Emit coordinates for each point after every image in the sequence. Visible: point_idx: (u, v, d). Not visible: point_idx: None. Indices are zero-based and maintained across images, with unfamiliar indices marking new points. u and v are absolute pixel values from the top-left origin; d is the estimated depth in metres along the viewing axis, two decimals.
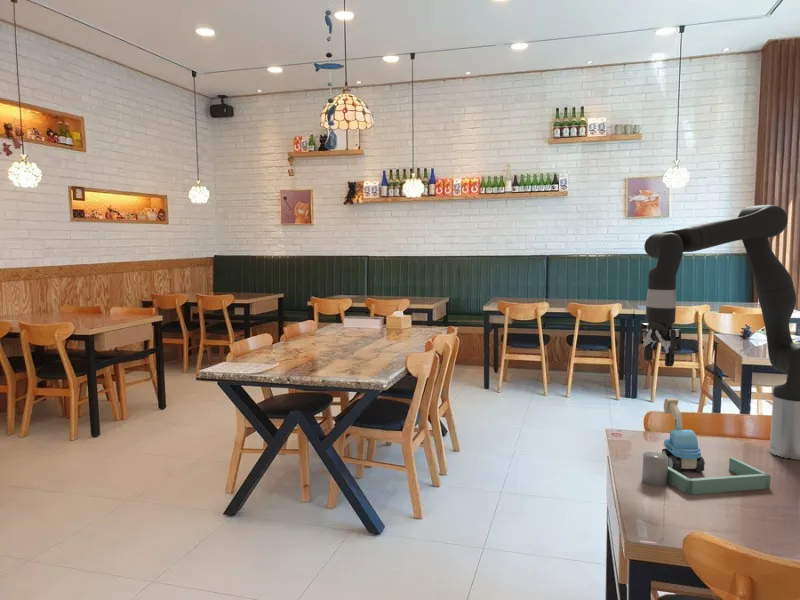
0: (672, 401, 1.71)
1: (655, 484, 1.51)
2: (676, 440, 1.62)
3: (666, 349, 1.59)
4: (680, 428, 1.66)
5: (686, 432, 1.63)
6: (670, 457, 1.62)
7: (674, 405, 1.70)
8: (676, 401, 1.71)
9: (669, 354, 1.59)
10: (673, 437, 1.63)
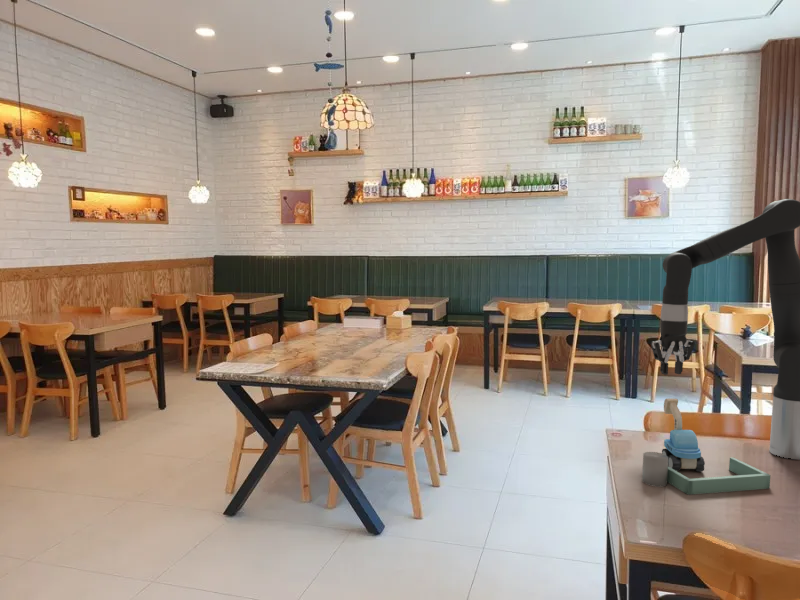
0: (672, 401, 1.71)
1: (655, 484, 1.51)
2: (676, 440, 1.62)
3: (682, 359, 1.80)
4: (680, 428, 1.66)
5: (686, 432, 1.63)
6: (670, 457, 1.62)
7: (674, 405, 1.70)
8: (676, 401, 1.71)
9: (682, 363, 1.81)
10: (673, 437, 1.63)
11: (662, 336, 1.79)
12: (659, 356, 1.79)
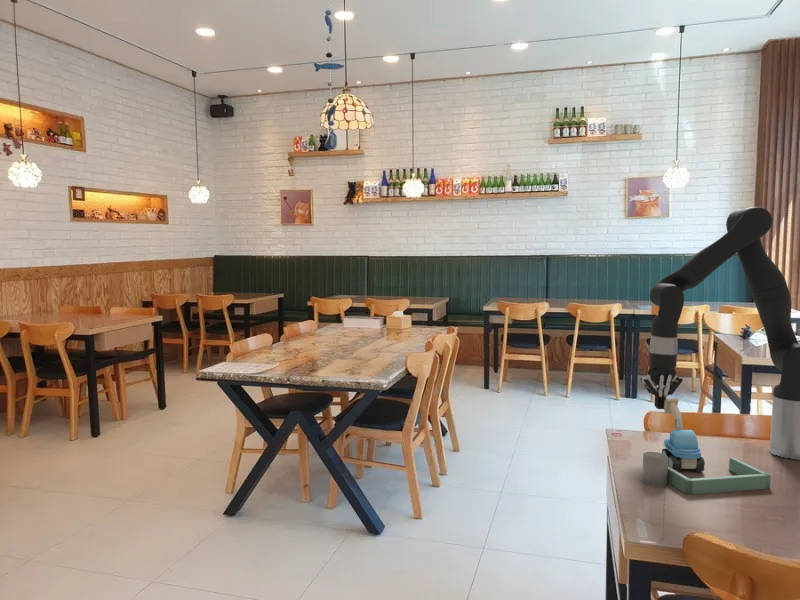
0: (672, 401, 1.71)
1: (655, 484, 1.51)
2: (676, 440, 1.62)
3: (665, 393, 1.74)
4: (680, 428, 1.66)
5: (686, 432, 1.63)
6: (670, 457, 1.62)
7: (674, 405, 1.70)
8: (676, 401, 1.71)
9: (665, 397, 1.75)
10: (673, 437, 1.63)
11: (651, 369, 1.73)
12: (652, 391, 1.73)
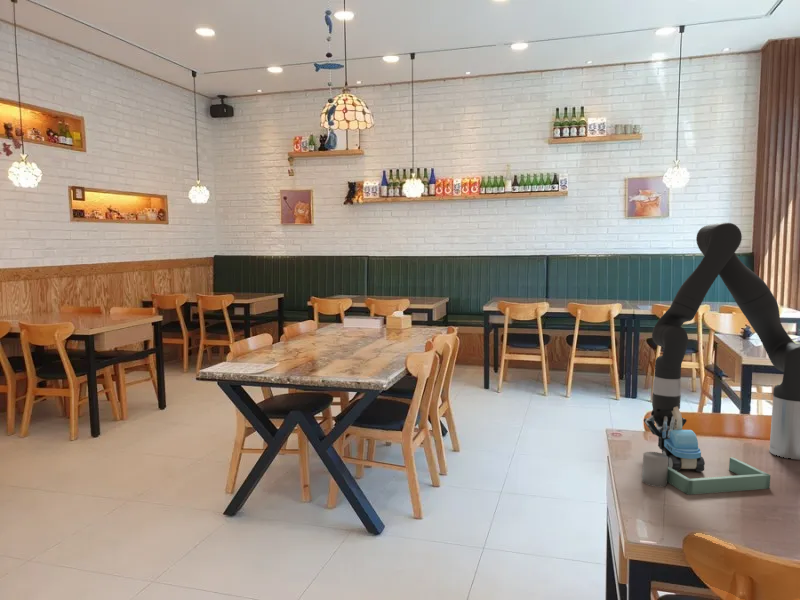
0: None
1: (655, 484, 1.51)
2: (676, 440, 1.62)
3: (669, 434, 1.72)
4: (680, 428, 1.66)
5: (686, 432, 1.63)
6: (670, 457, 1.62)
7: None
8: None
9: (669, 438, 1.73)
10: (673, 437, 1.63)
11: (654, 410, 1.72)
12: (656, 432, 1.72)
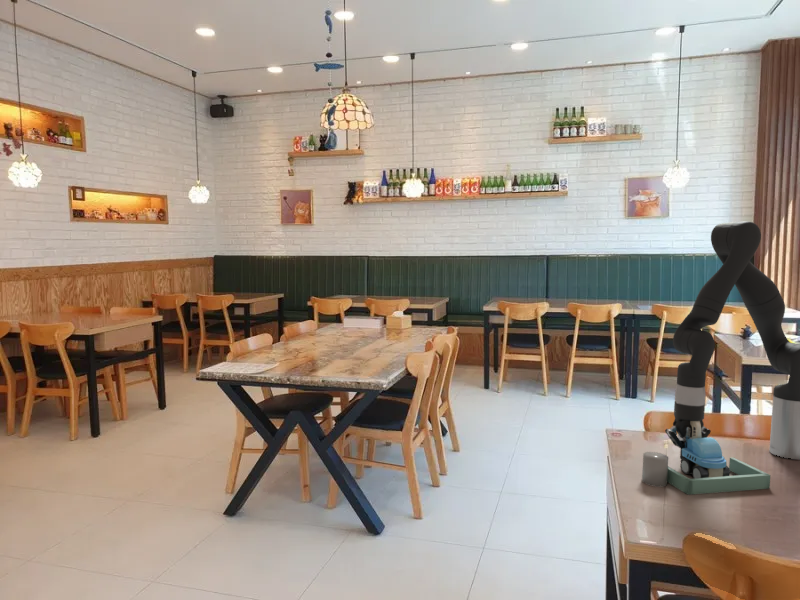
0: None
1: (655, 484, 1.51)
2: (702, 450, 1.54)
3: None
4: (700, 436, 1.59)
5: (709, 440, 1.56)
6: (696, 468, 1.54)
7: None
8: None
9: None
10: (697, 446, 1.55)
11: (676, 420, 1.62)
12: (678, 444, 1.62)
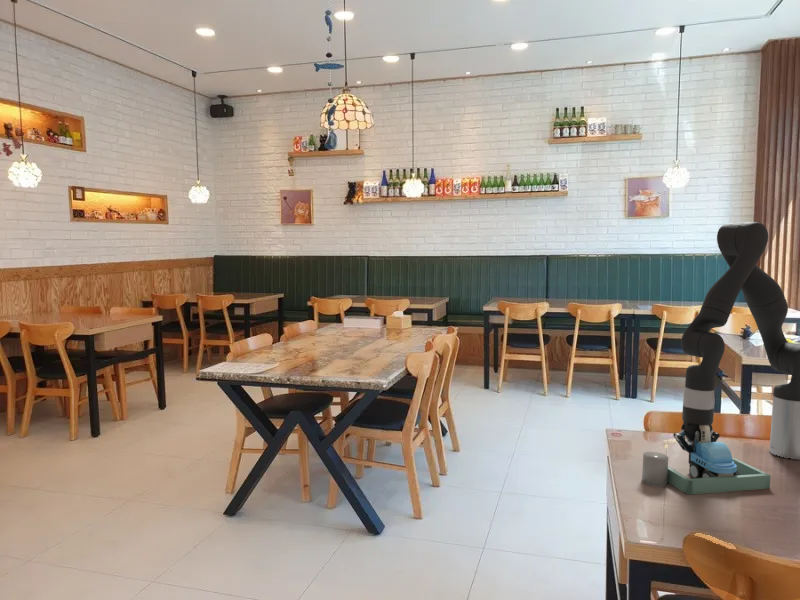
0: None
1: (655, 484, 1.51)
2: (711, 455, 1.51)
3: None
4: (709, 440, 1.56)
5: (718, 445, 1.53)
6: (706, 473, 1.51)
7: None
8: None
9: None
10: (706, 451, 1.52)
11: (685, 424, 1.58)
12: (687, 448, 1.58)
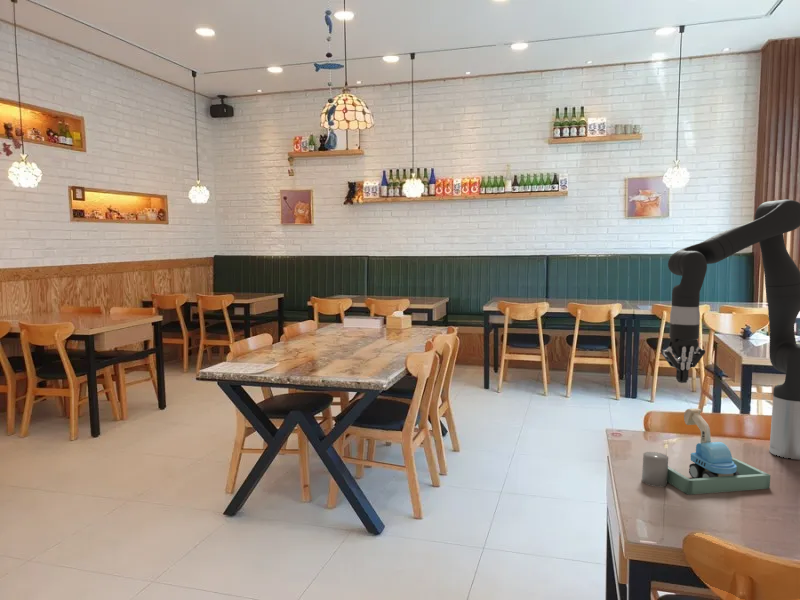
0: (695, 411, 1.60)
1: (655, 484, 1.51)
2: (711, 455, 1.51)
3: (688, 366, 1.66)
4: (709, 440, 1.56)
5: (718, 445, 1.53)
6: (706, 473, 1.51)
7: (699, 416, 1.59)
8: (699, 411, 1.60)
9: (687, 370, 1.67)
10: (706, 451, 1.52)
11: (672, 341, 1.66)
12: (674, 364, 1.65)
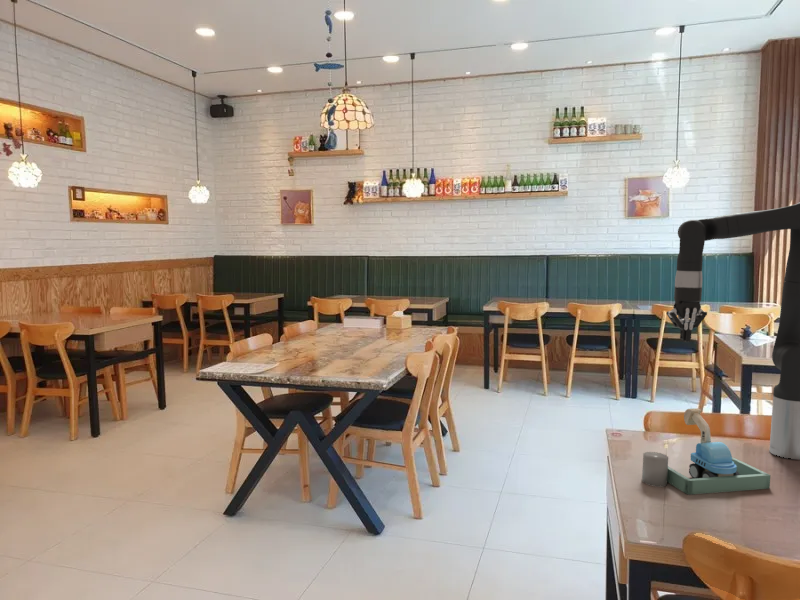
0: (695, 411, 1.60)
1: (655, 484, 1.51)
2: (711, 455, 1.51)
3: (691, 326, 1.81)
4: (709, 440, 1.56)
5: (718, 445, 1.53)
6: (706, 473, 1.51)
7: (699, 416, 1.59)
8: (699, 411, 1.60)
9: (690, 330, 1.81)
10: (706, 451, 1.52)
11: (676, 303, 1.80)
12: (678, 324, 1.80)
